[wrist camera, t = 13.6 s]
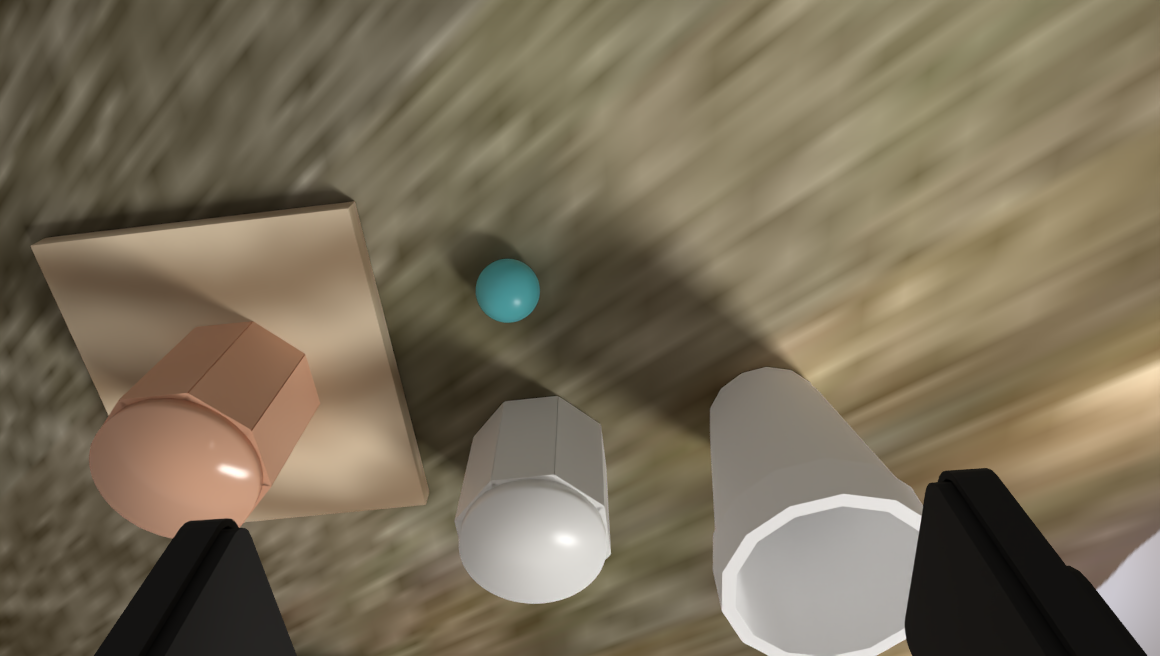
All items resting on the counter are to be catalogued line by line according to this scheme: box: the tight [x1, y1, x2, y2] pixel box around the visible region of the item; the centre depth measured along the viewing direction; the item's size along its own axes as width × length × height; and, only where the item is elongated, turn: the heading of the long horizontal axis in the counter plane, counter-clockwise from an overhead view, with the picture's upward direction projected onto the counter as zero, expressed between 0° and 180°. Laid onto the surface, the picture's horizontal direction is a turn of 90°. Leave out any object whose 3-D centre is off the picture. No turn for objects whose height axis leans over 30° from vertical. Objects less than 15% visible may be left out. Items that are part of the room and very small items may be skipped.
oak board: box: [31, 201, 429, 522], centre depth 41 cm, size 18×16×1 cm
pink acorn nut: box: [89, 321, 320, 538], centre depth 37 cm, size 7×7×8 cm
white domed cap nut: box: [455, 396, 611, 604], centre depth 40 cm, size 7×7×8 cm
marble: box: [476, 259, 540, 323], centre depth 38 cm, size 3×3×3 cm
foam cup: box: [710, 367, 923, 656], centre depth 37 cm, size 10×9×13 cm
